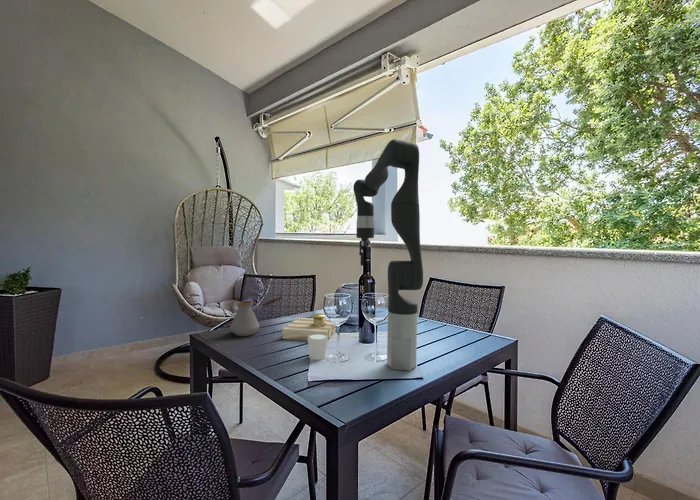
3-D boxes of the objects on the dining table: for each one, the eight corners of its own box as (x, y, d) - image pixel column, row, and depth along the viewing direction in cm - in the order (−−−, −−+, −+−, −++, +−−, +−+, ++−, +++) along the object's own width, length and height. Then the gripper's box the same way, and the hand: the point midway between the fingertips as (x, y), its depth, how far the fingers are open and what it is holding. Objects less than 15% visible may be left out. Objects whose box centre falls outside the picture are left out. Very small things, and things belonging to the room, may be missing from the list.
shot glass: (309, 361, 113) (309, 340, 113) (305, 354, 120) (306, 334, 120) (329, 359, 115) (329, 338, 115) (325, 352, 122) (325, 332, 121)
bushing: (323, 336, 140) (323, 317, 140) (309, 335, 141) (309, 316, 141) (327, 332, 146) (327, 313, 145) (313, 331, 147) (314, 313, 146)
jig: (326, 342, 133) (327, 331, 133) (282, 338, 137) (282, 328, 137) (337, 329, 151) (337, 320, 151) (298, 326, 155) (298, 317, 154)
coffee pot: (227, 338, 137) (227, 300, 136) (232, 330, 148) (232, 295, 147) (283, 336, 140) (283, 299, 140) (283, 328, 152) (284, 294, 151)
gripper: (371, 226, 142) (371, 266, 143) (376, 227, 156) (375, 263, 157) (353, 226, 143) (353, 266, 144) (359, 227, 157) (358, 263, 158)
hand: (364, 264), depth 150 cm, fingers open, 8 cm apart
